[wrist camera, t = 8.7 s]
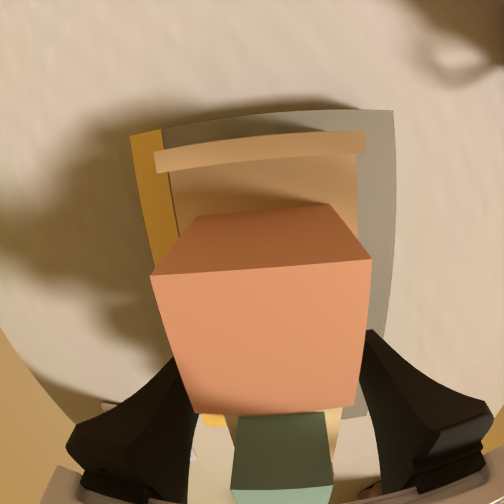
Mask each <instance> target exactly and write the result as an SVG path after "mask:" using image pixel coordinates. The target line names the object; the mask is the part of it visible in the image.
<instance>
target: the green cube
mask: <svg viewBox="0 0 504 504" xmlns="http://www.w3.org/2000/svg"><path fill="white" fill-rule="evenodd" d="M333 486H334V483H333V474H332V465H331V457H330V449H329V442H328V434H327V427H326V420H325V413H324V412H318V413H308V414H296V415H281V416H258V417H238V424H237V433H236V442H235V451H234V460H233V468H232V477H231V486H230V490H231V492H232V494H233V496H234V498H235V500H236V502H237V504H328V502H329V499H330V496H331V492H332V489H333Z"/></svg>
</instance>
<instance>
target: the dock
mask: <svg viewBox="0 0 504 504" xmlns="http://www.w3.org/2000/svg"><path fill="white" fill-rule="evenodd" d="M317 131H365V143H366V154H356V167H357V199H358V241H359V242H360V243H361V245H362V246H363V247H364V249H365V250H366V251H367V253H368V254H369V255H370V257H371V258H372V271H371V285H370V296H369V307H368V316H367V325H366V330H370V329H373V330H374V331H375V332H376V333H377V334H378V335H379V336H380V337H381V338H382V339H383V337H384V331H385V325H386V318H387V311H388V304H389V296H390V288H391V279H392V268H393V257H394V243H395V225H396V147H395V129H394V116H393V111H391V110H357V109H341V110H306V111H289V112H275V113H264V114H254V115H245V116H236V117H228V118H221V119H214V120H208V121H201V122H195V123H190V124H184V125H179V126H173V127H168V128H163V129H158V130H153V131H149V132H144V133H140V134H136V135H132V136H130V143H131V150H132V156H133V163H134V169H135V175H136V181H137V186H138V192H139V197H140V202H141V207H142V212H143V217H144V222H145V227H146V231H147V236H148V240H149V244H150V249H151V253H152V257H153V261H154V265H155V268H156V267H157V265H158V264H159V263H160V261H161V260H162V259H163V258H164V256H165V255H166V254H167V252H168V251H169V250H170V249H171V247H172V246H173V245H174V244H175V242H176V241H177V240H178V239H179V237H180V232H179V227H178V222H177V216H176V211H175V205H174V199H173V194H172V188H171V181H170V175H169V172H163V173H157V171H156V165H155V159H154V152H155V151H160V150H165V149H170V148H175V147H180V146H186V145H192V144H197V143H204V142H211V141H218V140H225V139H226V140H227V139H235V138H244V137H251V136H261V135H272V134H287V133H298V132H317ZM367 411H368V407H367V404H366V401H365V398H364V395H363V392H362V389H361V386H360V383H359V380H358V385H357V391H356V396H355V401H354V406H348V407H343V409H342V415H341V419H348V418H354V417H361V416H366V414H367ZM201 415H202V417H203V420H204V422H205V425H206V426H213V427H227V426H228V425H227V422H226V419H225V415H224V414H201Z"/></svg>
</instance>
